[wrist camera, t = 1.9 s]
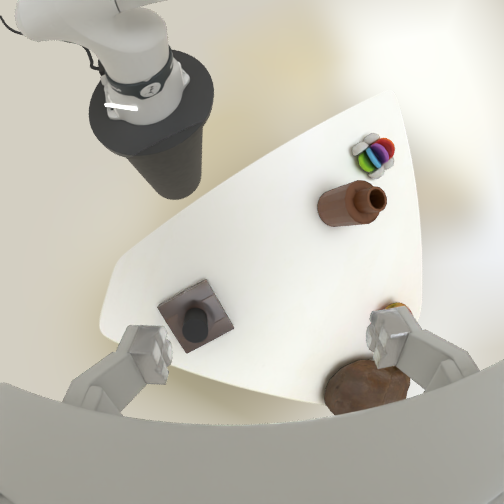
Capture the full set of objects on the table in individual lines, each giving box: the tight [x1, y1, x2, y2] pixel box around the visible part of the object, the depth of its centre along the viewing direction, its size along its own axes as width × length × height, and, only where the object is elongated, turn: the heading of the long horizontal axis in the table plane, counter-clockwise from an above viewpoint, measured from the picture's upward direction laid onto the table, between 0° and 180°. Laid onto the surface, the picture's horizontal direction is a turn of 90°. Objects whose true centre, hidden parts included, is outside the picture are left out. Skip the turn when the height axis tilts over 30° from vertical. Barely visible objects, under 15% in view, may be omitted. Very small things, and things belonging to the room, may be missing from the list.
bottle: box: [318, 180, 387, 227], centre depth 46 cm, size 7×7×15 cm
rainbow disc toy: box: [353, 133, 395, 179], centre depth 51 cm, size 8×10×7 cm
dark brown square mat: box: [157, 279, 234, 353], centre depth 48 cm, size 10×10×2 cm
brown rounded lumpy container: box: [324, 360, 410, 415], centre depth 50 cm, size 19×20×13 cm
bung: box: [182, 308, 208, 343], centre depth 45 cm, size 4×4×9 cm
